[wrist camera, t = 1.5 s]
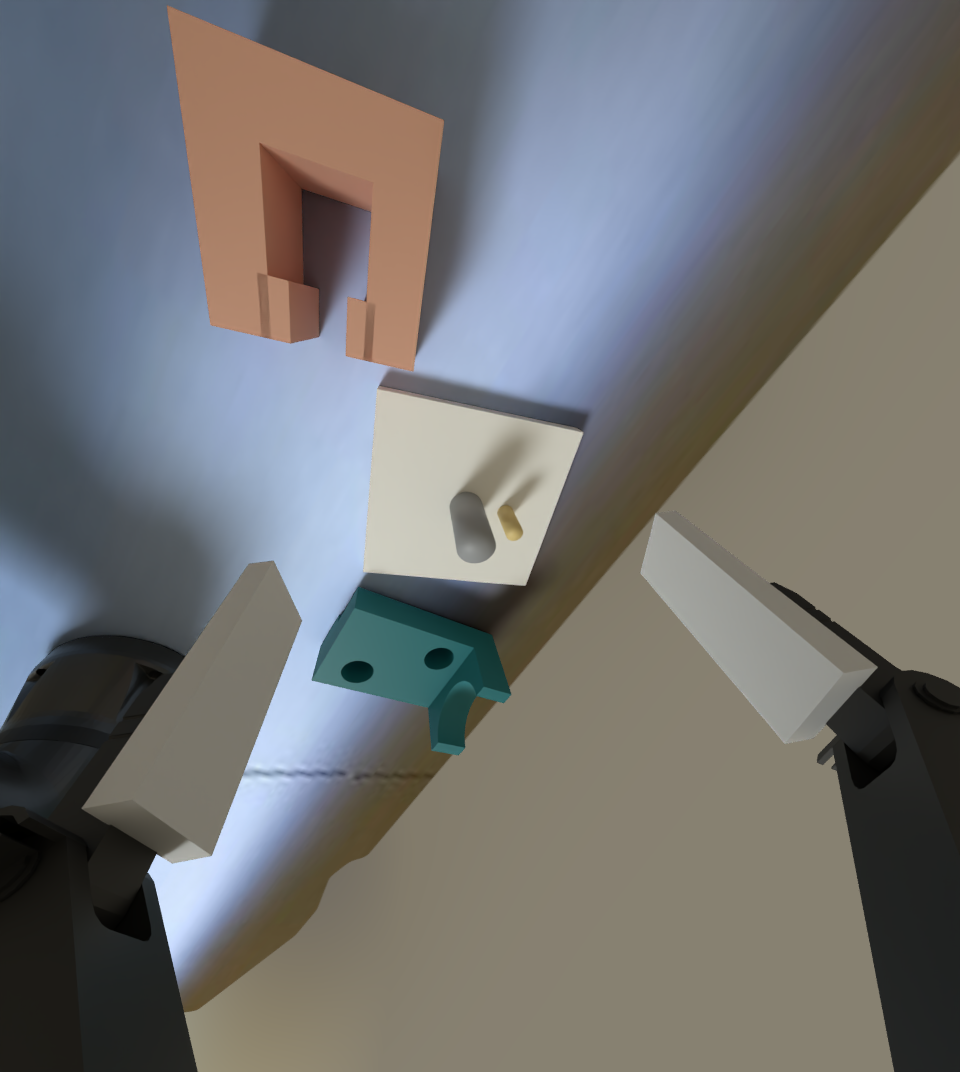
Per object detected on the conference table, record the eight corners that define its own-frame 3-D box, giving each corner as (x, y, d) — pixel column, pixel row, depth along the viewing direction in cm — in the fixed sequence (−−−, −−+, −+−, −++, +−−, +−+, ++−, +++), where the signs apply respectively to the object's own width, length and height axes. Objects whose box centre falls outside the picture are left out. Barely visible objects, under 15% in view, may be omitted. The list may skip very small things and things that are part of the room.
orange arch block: (241, 98, 19) (166, 4, 14) (436, 171, 22) (444, 120, 16) (258, 322, 25) (210, 325, 19) (414, 359, 28) (413, 371, 22)
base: (364, 563, 37) (352, 622, 30) (378, 385, 28) (366, 409, 21) (522, 577, 42) (543, 631, 34) (577, 427, 33) (621, 459, 26)
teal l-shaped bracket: (489, 627, 46) (511, 694, 37) (447, 681, 49) (458, 755, 40) (359, 579, 39) (347, 648, 30) (320, 646, 42) (299, 726, 33)
